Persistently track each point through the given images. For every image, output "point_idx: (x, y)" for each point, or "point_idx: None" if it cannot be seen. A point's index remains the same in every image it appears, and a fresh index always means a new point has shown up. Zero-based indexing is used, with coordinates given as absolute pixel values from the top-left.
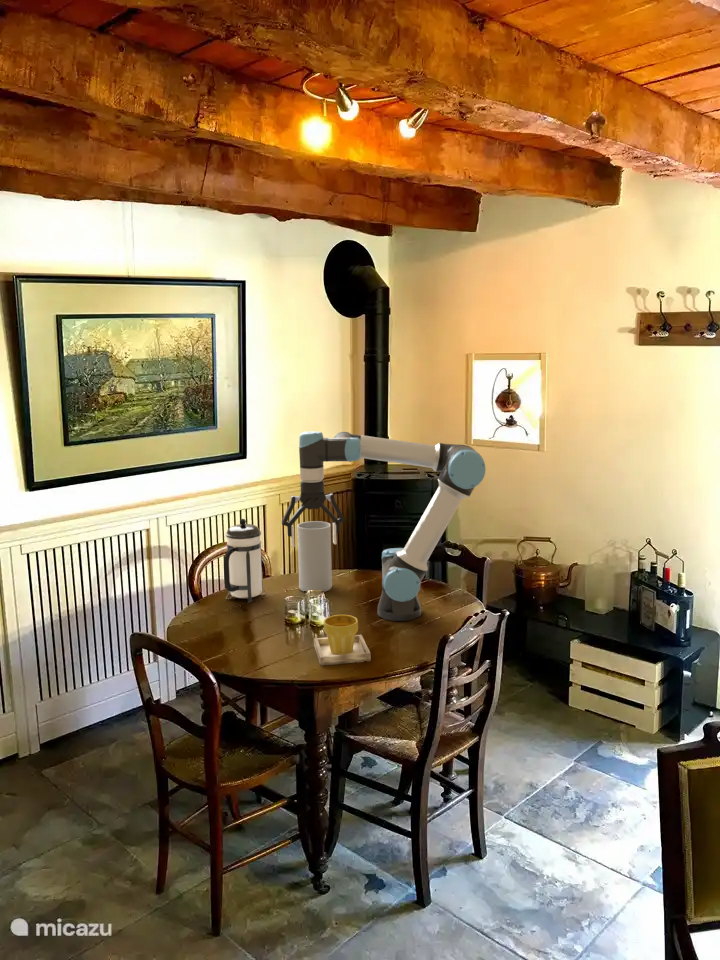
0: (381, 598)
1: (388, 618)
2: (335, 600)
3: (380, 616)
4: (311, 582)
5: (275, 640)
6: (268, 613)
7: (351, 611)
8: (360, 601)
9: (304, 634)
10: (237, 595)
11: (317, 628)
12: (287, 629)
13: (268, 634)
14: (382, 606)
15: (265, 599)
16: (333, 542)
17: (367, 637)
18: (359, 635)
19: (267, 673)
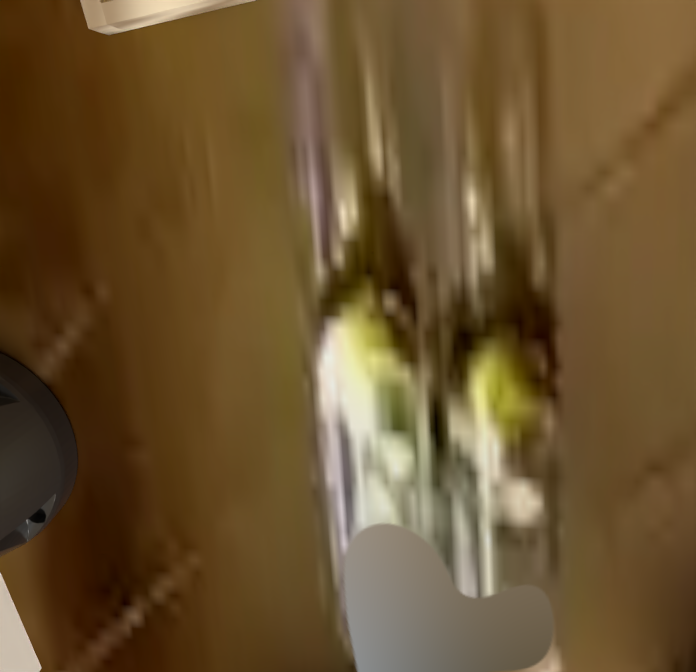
0: (3, 471)
1: (4, 359)
2: (305, 626)
3: (53, 398)
4: None
5: (611, 72)
6: (648, 480)
7: (212, 484)
8: (182, 606)
9: (442, 166)
10: None
11: (373, 255)
12: (542, 246)
13: (653, 171)
14: (11, 420)
15: (661, 661)
16: (16, 634)
17: (85, 111)
18: (98, 13)
19: None
